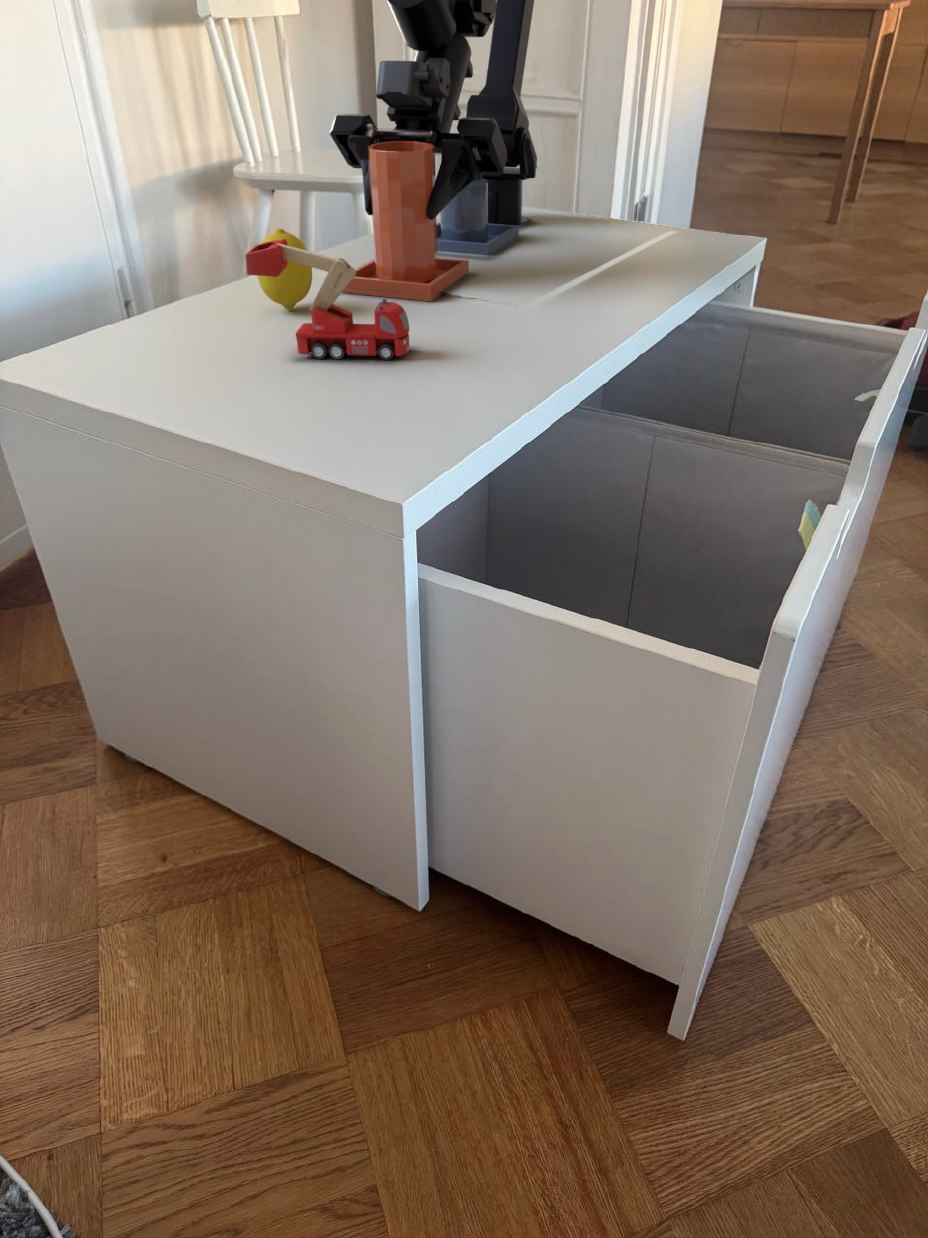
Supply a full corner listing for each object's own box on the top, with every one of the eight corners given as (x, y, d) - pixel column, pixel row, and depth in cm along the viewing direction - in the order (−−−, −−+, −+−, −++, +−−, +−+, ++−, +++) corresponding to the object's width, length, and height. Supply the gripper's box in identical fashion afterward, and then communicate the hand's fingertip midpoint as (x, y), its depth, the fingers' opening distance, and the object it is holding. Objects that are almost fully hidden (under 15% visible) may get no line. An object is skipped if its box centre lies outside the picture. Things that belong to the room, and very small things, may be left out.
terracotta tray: (385, 268, 108) (384, 253, 107) (468, 275, 105) (468, 260, 104) (342, 292, 100) (340, 276, 99) (431, 301, 97) (431, 284, 96)
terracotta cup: (416, 263, 106) (412, 138, 98) (448, 277, 101) (446, 147, 94) (365, 273, 103) (356, 144, 95) (396, 287, 98) (389, 154, 91)
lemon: (326, 305, 96) (317, 224, 92) (297, 320, 92) (286, 236, 88) (282, 299, 98) (272, 220, 94) (251, 314, 94) (239, 232, 90)
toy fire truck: (407, 361, 82) (401, 247, 76) (258, 358, 83) (242, 247, 78) (413, 348, 85) (407, 238, 79) (268, 346, 86) (253, 237, 80)
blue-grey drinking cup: (458, 233, 120) (456, 175, 116) (497, 239, 117) (497, 179, 113) (431, 243, 116) (429, 183, 112) (471, 249, 113) (471, 187, 109)
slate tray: (443, 233, 122) (443, 219, 121) (518, 239, 119) (518, 225, 118) (408, 252, 114) (408, 237, 113) (488, 259, 111) (488, 244, 110)
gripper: (328, 25, 94) (287, 160, 93) (498, 24, 89) (458, 169, 87) (368, 103, 105) (332, 226, 103) (522, 107, 99) (487, 238, 97)
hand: (398, 214), depth 97 cm, fingers closed on terracotta cup, 7 cm apart
